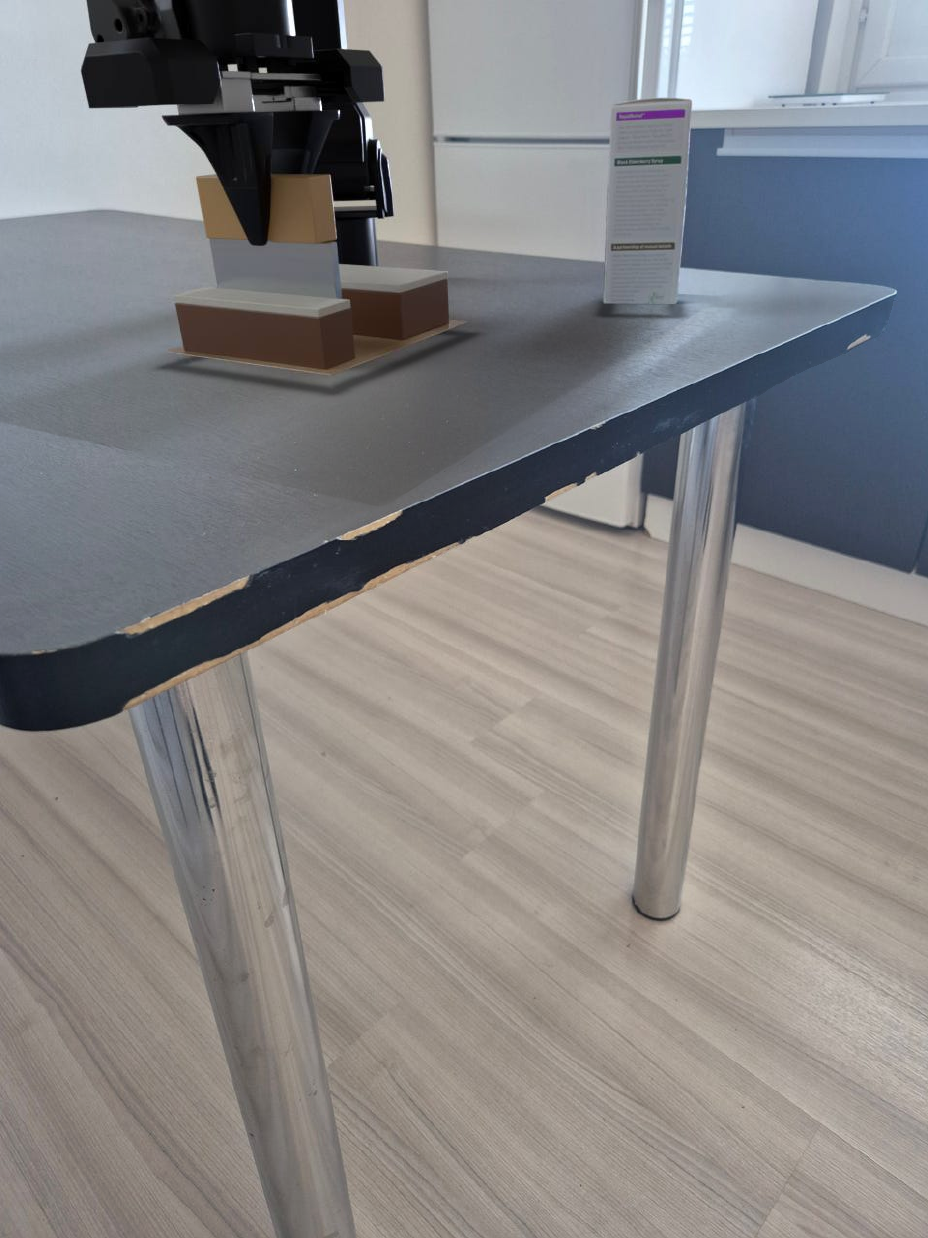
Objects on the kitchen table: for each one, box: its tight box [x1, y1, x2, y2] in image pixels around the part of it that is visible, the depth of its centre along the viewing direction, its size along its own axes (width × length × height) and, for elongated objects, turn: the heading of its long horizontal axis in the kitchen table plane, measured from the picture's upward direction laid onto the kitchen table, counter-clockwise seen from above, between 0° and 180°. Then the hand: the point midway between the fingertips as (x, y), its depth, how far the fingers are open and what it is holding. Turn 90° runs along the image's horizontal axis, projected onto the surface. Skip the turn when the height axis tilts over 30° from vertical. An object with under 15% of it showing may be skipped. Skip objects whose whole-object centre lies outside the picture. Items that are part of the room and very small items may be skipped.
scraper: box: [195, 173, 342, 299], centre depth 53 cm, size 10×2×8 cm, turn 59°
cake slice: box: [172, 286, 355, 370], centre depth 53 cm, size 3×12×4 cm, turn 59°
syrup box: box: [602, 97, 693, 305], centre depth 64 cm, size 6×6×14 cm
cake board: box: [165, 319, 469, 376], centre depth 59 cm, size 16×14×1 cm
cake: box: [339, 264, 450, 340], centre depth 61 cm, size 6×12×4 cm, turn 59°
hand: (271, 242), depth 52 cm, fingers closed on scraper, 2 cm apart
